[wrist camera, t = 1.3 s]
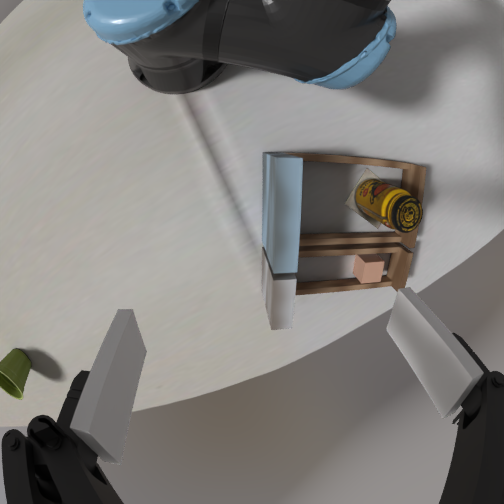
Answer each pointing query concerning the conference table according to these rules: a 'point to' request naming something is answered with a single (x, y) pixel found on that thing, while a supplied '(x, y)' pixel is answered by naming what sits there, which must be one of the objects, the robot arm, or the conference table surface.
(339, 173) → the conference table surface
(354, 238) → the wooden shelf
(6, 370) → the plant pot
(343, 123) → the conference table surface
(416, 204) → the condiment
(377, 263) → the clay block
